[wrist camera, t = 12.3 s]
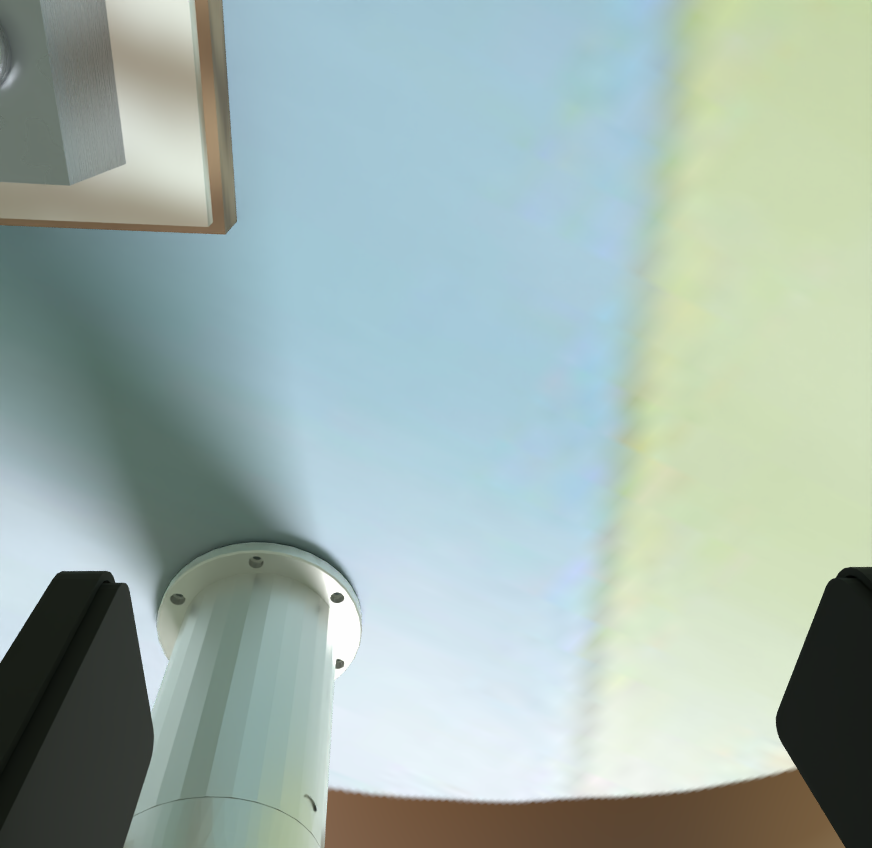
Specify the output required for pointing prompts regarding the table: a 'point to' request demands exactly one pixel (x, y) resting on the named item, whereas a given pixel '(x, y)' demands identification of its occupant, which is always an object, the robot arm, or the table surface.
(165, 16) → the stand
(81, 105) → the block
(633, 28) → the table surface
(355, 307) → the table surface
